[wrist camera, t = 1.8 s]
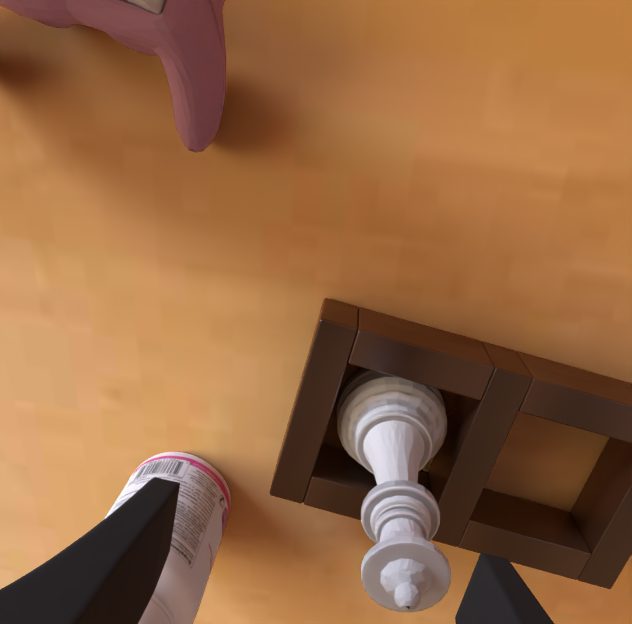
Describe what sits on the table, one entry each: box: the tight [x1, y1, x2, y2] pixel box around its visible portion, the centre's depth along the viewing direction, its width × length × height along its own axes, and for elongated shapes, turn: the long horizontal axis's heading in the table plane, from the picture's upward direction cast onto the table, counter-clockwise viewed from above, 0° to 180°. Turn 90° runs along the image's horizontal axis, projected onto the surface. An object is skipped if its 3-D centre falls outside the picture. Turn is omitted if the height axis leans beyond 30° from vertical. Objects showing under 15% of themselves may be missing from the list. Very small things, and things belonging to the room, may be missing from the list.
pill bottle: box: [105, 452, 231, 624], centre depth 21 cm, size 5×5×8 cm
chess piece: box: [337, 368, 451, 612], centre depth 18 cm, size 4×4×10 cm
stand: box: [270, 298, 632, 589], centre depth 22 cm, size 14×8×2 cm, turn 75°
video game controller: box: [0, 0, 226, 153], centre depth 17 cm, size 10×5×7 cm, turn 74°
